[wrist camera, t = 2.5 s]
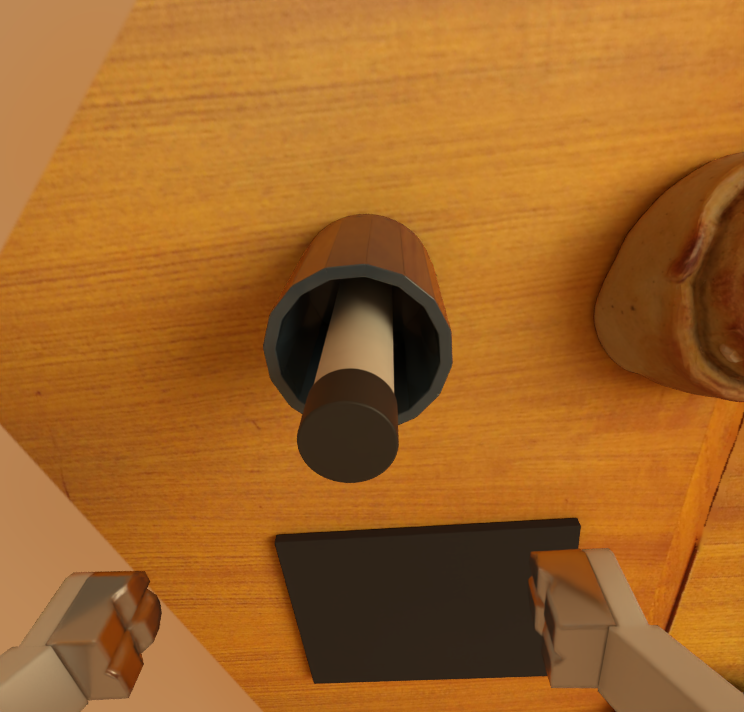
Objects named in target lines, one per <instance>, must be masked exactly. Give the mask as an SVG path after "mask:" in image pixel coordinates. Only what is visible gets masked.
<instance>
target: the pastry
mask: <svg viewBox="0 0 744 712" xmlns="http://www.w3.org/2000/svg"><path fill="white" fill-rule="evenodd" d="M594 322H595V328H596V331H597V334H598V338H599V340H600V342H601V344H602V346H603V348H604V350H605V351H606V352H607V354H608V355H609V356H610V357H611V359H612V360H613V361H615V362H616V363H617V364H618V365H619V366H620V367H622V368H624V369H626V370H628V371H630V372H634V373H638V374H641V375H643V376H645V377H647V378H649V379H650V380H652V381H654V382H656V383H658V384H661V385H664V386H666V387H670V388H673V389H676V390H680V391H683V392H687V393H691V394H696V395H701V396H708V397H715V398H721V399H724V400H729V401H735V402H744V152H743V153H738V154H733V155H728V156H725V157H722V158H720V159H717V160H714V161H711V162H709V163H707V164H705V165H704V166H702V167H700V168H698V169H697V170H695V171H694V172H692V173H691V174H689V175H687V176H686V177H684V178H683V179H681V180H680V181H679V182H677V183H676V184H675V185H673V186H672V187H671V188H669V189H668V190H667V191H666V192H665V193H664V194H662V195H661V196H660V197H659V198H658V199H657V200H656V201H655V202H654V203H653V204H652V206H651V207H650V208H649V209H648V210H647V211H646V212H645V213H644V215H643V216H642V217H641V218H640V219H639V221H638V222H637V223H636V224H635V225H634V227H633V228H632V229H631V230H630V232H629V233H628V234H627V236H626V238H625V240H624V242H623V244H622V246H621V248H620V250H619V252H618V255H617V257H616V259H615V261H614V263H613V265H612V267H611V269H610V271H609V272H608V274H607V276H606V278H605V280H604V282H603V285H602V287H601V290H600V292H599V295H598V297H597V301H596V304H595V310H594Z"/></svg>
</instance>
